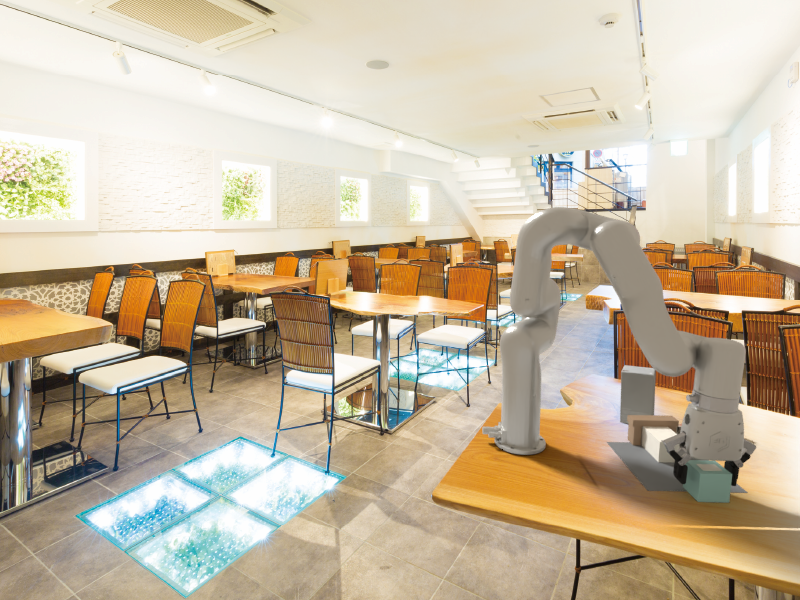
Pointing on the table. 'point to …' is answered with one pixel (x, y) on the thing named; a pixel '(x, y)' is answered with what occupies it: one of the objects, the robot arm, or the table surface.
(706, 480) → the teal cube
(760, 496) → the table surface
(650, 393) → the skincare box
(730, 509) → the table surface
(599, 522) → the table surface
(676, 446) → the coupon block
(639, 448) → the mat
